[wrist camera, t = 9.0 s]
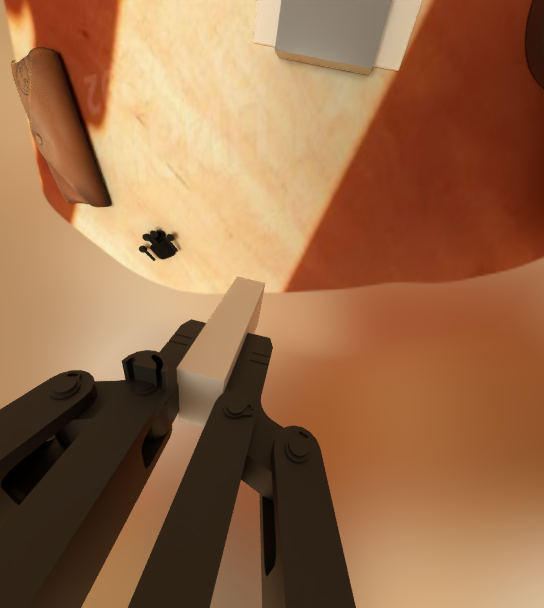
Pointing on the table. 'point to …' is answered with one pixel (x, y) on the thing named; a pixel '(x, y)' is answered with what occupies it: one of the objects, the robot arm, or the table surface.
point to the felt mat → (392, 38)
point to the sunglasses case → (58, 127)
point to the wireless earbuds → (159, 245)
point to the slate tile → (332, 32)
